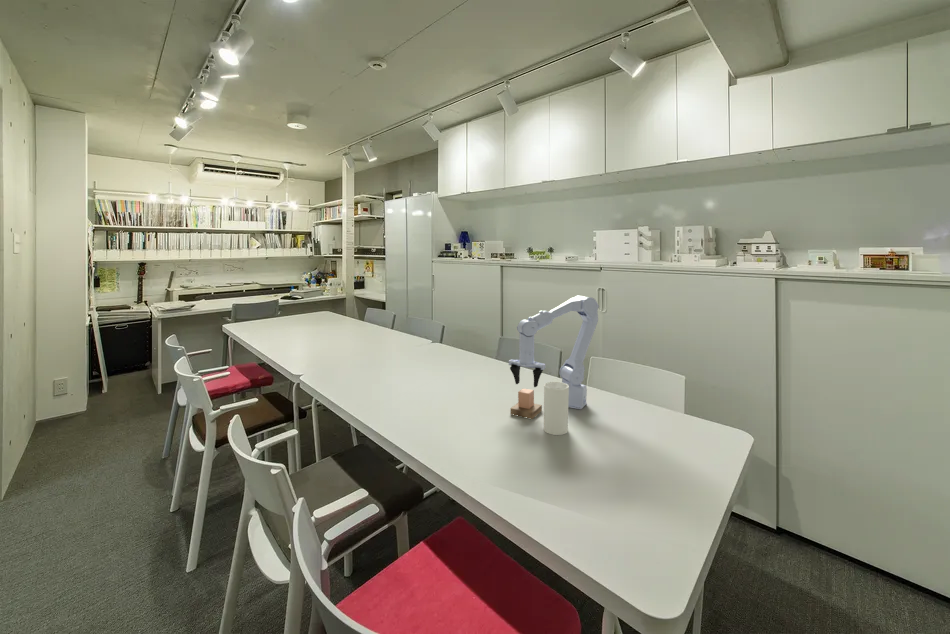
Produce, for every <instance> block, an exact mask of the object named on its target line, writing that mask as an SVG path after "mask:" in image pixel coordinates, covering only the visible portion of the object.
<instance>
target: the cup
mask: <svg viewBox="0 0 950 634" xmlns="http://www.w3.org/2000/svg"><path fill="white" fill-rule="evenodd" d="M543 387H544V389H543V431H544V432H545V433H547V434H549V435H553V436H562V435H565V434H567V433H568V430H569V427H568V426H569V407H568V401H569V386H568V385H567V384H565V383H562V381H550V382H545V383H544V384H543Z"/></svg>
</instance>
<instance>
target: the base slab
mask: <svg viewBox="0 0 950 634" xmlns="http://www.w3.org/2000/svg"><path fill="white" fill-rule="evenodd" d="M542 408H543V405H542V404H538V403H534V405H533V406H532V407H531V408H530V409H527V408H521V407H518V402H517V403H516V404H514V405H513V406H512V407H510V413H509V414H514V415H513V416H515V415H518V416H517V417H519V416H522V417H521V418H524V417H527V418H526V419H528V418H531V419H530V420H534V417H535V416H536V415H537V414H538V415H539V414H541V413H542V412H543V409H542ZM538 415H537V416H538ZM537 416H536V417H537ZM536 417H535V418H536Z"/></svg>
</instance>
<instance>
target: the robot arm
mask: <svg viewBox="0 0 950 634" xmlns="http://www.w3.org/2000/svg"><path fill="white" fill-rule="evenodd" d="M599 307H600V305H599V304H598V301H597V300H596V299H595V298H594V297H591V296H590V297H589V296H584V295H581V294H578V295H575V296H574V297H571V298H569V299H568V300H566V301H564V302H562V303H561V304H559V305H558V306H556V307H553V308H552V309H550V310H549V311H548V310H546V309H545V310H538V313H537V314H534V315H533V316H528V317H527V319H521V320H520V321H519V322H518V324H517V326H516V329H517V332H518V333H519V339H518V340H519V342H518V343H519V344H518V346H519V347H518V349H519V350H518V351H519V354H518V355H519V358H518V359H509V360H508V366H510V367H509V370H510V371H511V373H512V376H513V378H514V383H515V385H518V384H520V380H521V379H520V375H521V374H520V371H521V367H523V368H531V369H533V370H532V374H533V375H532V376H533V388H537V387H538V384H539V380H540V377H541V375H542V373H543V371H544V370H545V369H546V363H543V362H538V361H535V335H536V334H537V332H539V331H540V330H541V329H543V328H546V327H547V326H550V325H552V323H553V320H555V319H556V318H558V317H559V318H560V317H561V316H562V315H565V314H568V313H570V312H577V313H578V314H579V316H580V318H581V320H582V322H581V325H580V328H579V331H578V334H577V336H576V339H575V341H574V345H573V347H572V351H571V354H570V355H569V357H568V358H567V359H566V360H565V361H564V363H563V365H562V366H561V367H560V368H559V376H560V377H561V380H562V381H561V382H562V383H565V384H567V385H568V386H569V401H568V408H569V409H570V408H571V409H576V410H582V409H583V408H584V407H585V406H586V405H587V404H588V403H587V394H588V393H587V390H588V389H587V385H586V384H583V381H584V379H585V370H586V368H585V365H584V361H585V358H586V355H587V352H588V350H589V347H590V344H591V342H592V338H593V336H594V333H595V331H596V327H597V325H598V323H599V314H598V313H599V311H598V310H599V309H600V308H599Z"/></svg>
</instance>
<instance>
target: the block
mask: <svg viewBox="0 0 950 634" xmlns="http://www.w3.org/2000/svg"><path fill="white" fill-rule="evenodd" d="M517 393H518V394H517V398H518V399H517V403H518V407H521V408H527V409H530V408H531V407H532V406H533V405H534V404H535V389H528V388H522V389H520V390H519V391H518V392H517Z"/></svg>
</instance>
